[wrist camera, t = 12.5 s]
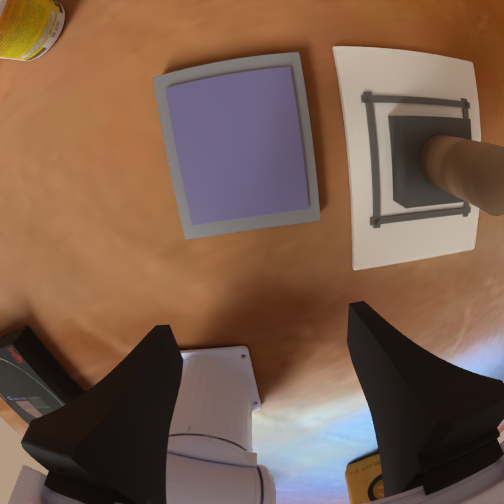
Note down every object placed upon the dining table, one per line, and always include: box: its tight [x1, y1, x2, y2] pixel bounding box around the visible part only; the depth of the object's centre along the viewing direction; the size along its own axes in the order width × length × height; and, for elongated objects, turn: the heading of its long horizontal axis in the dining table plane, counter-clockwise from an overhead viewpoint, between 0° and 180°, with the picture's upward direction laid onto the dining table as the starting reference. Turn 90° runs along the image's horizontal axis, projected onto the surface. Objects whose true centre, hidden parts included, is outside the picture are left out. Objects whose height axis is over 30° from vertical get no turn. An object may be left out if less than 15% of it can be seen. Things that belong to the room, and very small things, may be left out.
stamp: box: [388, 116, 504, 216], centre depth 14 cm, size 6×6×8 cm
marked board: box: [332, 46, 481, 271], centre depth 18 cm, size 16×12×1 cm
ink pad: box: [153, 52, 321, 240], centre depth 18 cm, size 11×9×2 cm
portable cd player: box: [0, 325, 85, 425], centre depth 28 cm, size 16×17×4 cm
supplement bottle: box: [0, 0, 65, 61], centre depth 9 cm, size 6×6×10 cm
